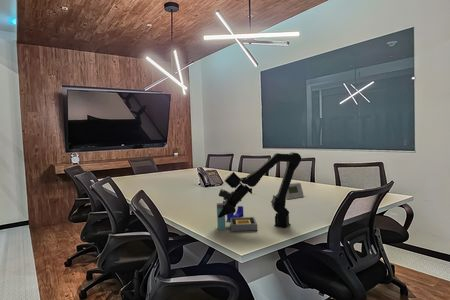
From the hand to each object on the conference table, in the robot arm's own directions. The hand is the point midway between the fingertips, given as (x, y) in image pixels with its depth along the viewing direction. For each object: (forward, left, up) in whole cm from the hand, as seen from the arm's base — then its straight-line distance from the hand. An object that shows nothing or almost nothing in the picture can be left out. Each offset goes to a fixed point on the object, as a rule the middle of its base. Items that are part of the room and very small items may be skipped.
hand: (218, 216), depth 156 cm
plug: (-1, -1, -7) cm, 7 cm away
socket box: (-10, -8, -7) cm, 14 cm away
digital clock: (-2, -87, -7) cm, 87 cm away
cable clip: (+3, -21, -7) cm, 22 cm away
